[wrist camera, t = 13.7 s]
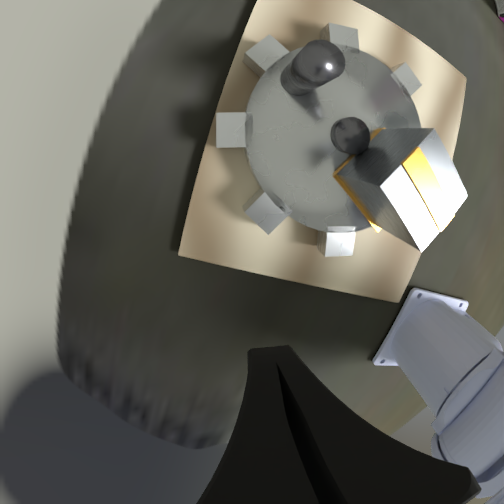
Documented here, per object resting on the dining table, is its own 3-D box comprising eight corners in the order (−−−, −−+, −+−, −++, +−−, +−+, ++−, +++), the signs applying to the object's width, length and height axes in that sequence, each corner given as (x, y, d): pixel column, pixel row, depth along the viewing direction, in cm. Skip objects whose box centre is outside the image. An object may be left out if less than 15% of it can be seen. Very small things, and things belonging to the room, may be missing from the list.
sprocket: (330, -1, 12) (368, -40, 7) (449, 155, 16) (504, 165, 11) (164, 134, 14) (137, 127, 9) (325, 287, 19) (359, 336, 13)
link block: (382, 129, 14) (435, 128, 9) (416, 181, 15) (469, 196, 11) (336, 174, 14) (381, 186, 10) (375, 225, 16) (423, 252, 11)
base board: (461, 78, 15) (466, 78, 14) (394, 299, 21) (398, 303, 20) (269, -26, 11) (270, -31, 11) (179, 251, 17) (177, 255, 17)
